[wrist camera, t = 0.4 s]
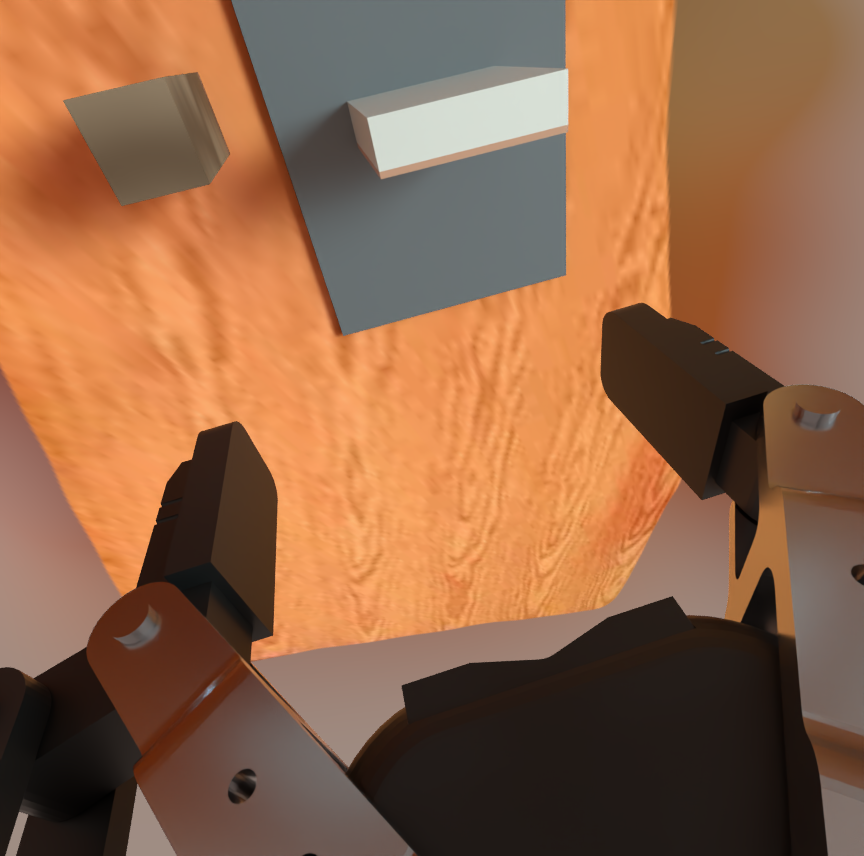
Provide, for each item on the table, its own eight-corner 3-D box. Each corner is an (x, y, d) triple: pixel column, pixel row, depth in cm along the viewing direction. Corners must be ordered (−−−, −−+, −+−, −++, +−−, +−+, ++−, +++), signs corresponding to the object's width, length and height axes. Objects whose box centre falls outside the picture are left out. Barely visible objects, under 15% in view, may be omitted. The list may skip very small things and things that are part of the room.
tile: (346, 101, 28) (366, 117, 20) (494, 65, 29) (567, 68, 21) (358, 147, 30) (381, 179, 22) (497, 113, 30) (568, 132, 22)
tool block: (124, 89, 26) (63, 100, 19) (197, 72, 26) (163, 77, 19) (163, 170, 29) (121, 206, 22) (230, 153, 29) (210, 184, 22)
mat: (209, -69, 23) (207, -71, 23) (559, -144, 24) (564, -148, 24) (342, 332, 37) (343, 335, 37) (562, 272, 38) (565, 275, 38)
